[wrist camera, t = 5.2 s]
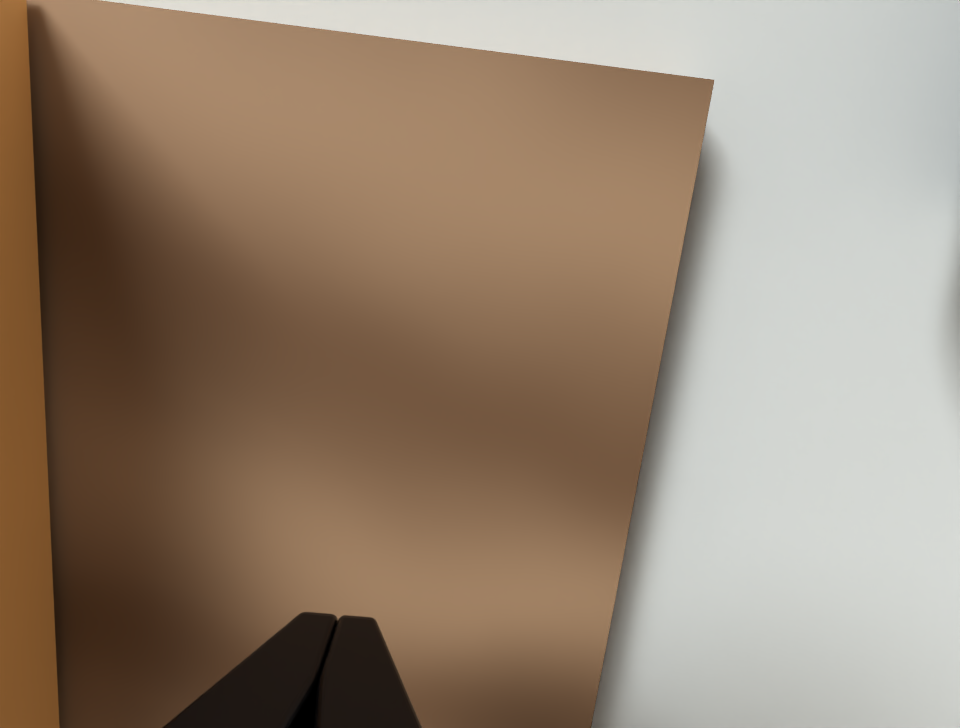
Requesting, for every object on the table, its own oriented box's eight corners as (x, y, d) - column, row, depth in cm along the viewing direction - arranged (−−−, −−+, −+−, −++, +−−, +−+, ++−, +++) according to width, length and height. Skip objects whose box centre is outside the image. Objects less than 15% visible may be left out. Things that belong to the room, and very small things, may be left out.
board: (517, 1015, 19) (522, 1092, 17) (-418, 961, 17) (-503, 1039, 16) (685, 88, 13) (716, 79, 11) (-721, -93, 11) (-904, -131, 10)
